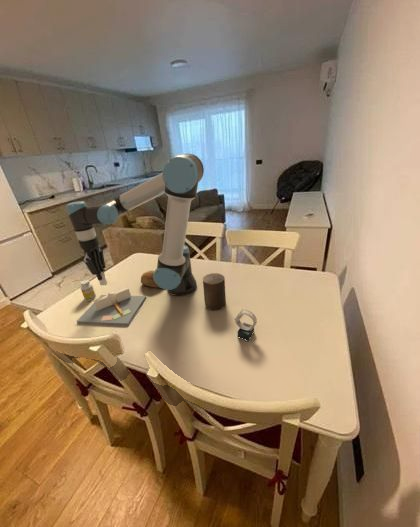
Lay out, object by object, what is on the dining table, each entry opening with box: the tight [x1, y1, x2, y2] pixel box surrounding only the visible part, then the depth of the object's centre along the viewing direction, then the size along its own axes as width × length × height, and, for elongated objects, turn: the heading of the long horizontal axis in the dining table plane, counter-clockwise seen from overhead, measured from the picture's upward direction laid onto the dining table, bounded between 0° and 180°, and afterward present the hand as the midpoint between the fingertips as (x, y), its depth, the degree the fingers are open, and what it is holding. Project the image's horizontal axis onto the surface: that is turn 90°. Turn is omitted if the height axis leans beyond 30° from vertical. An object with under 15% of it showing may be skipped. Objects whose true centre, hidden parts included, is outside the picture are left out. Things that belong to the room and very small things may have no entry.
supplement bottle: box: [80, 279, 97, 302], centre depth 119 cm, size 5×5×10 cm
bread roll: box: [140, 270, 160, 289], centre depth 126 cm, size 10×15×8 cm, turn 65°
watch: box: [234, 309, 258, 341], centre depth 88 cm, size 6×8×11 cm
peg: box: [93, 287, 132, 314], centre depth 108 cm, size 16×13×6 cm
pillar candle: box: [202, 272, 227, 311], centre depth 106 cm, size 10×10×15 cm
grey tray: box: [76, 294, 147, 327], centre depth 110 cm, size 24×20×1 cm
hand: (104, 284), depth 113 cm, fingers closed
